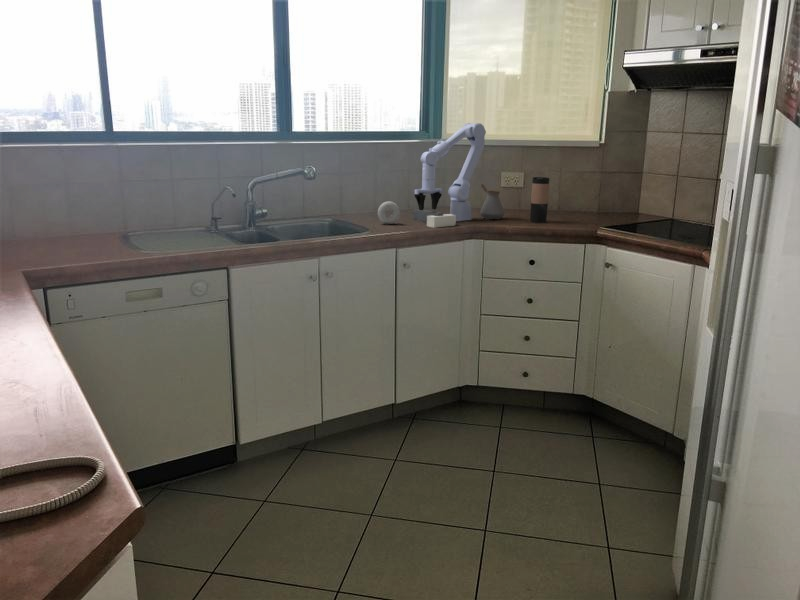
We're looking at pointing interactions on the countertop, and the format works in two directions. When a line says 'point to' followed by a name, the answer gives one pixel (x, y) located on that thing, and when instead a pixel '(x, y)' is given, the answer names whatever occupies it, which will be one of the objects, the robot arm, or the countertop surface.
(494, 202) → the coffee pot
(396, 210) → the donut
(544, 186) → the travel mug
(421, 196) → the robot arm
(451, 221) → the cream u-shaped cradle
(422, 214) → the rail
